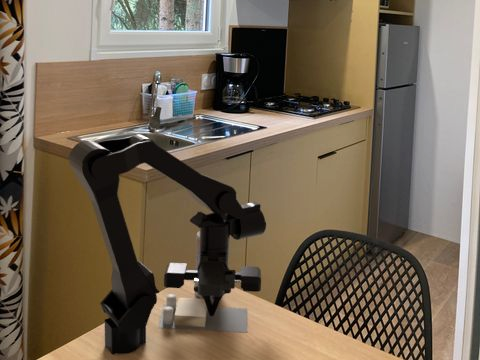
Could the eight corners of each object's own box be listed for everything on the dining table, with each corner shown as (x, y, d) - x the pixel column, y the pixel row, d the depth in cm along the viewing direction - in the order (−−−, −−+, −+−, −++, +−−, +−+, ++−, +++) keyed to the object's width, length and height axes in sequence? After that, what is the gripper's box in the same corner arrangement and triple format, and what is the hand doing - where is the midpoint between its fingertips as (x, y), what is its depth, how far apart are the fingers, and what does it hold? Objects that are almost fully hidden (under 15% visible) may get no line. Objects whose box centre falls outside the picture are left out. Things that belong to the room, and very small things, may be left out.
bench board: (157, 332, 104) (157, 314, 103) (164, 308, 113) (164, 291, 112) (247, 336, 105) (248, 318, 103) (246, 312, 113) (248, 295, 112)
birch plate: (174, 325, 105) (174, 315, 105) (178, 306, 112) (178, 297, 111) (204, 326, 105) (205, 316, 105) (207, 308, 112) (207, 299, 111)
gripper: (159, 259, 96) (159, 335, 101) (264, 263, 96) (259, 340, 101) (168, 235, 107) (167, 305, 111) (262, 239, 107) (257, 309, 111)
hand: (211, 315), depth 108 cm, fingers closed
